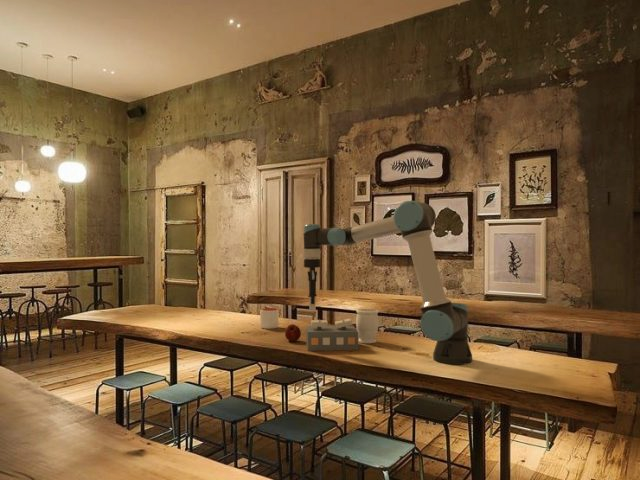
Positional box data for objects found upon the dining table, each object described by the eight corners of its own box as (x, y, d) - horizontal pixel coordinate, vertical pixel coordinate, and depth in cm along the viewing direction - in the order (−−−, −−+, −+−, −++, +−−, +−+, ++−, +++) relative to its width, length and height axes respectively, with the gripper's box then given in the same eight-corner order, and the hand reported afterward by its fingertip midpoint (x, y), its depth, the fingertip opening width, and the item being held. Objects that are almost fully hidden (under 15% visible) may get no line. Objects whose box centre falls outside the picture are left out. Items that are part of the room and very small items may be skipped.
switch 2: (352, 324, 211) (351, 319, 211) (337, 328, 210) (336, 322, 210) (350, 322, 216) (349, 317, 216) (335, 326, 215) (334, 320, 215)
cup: (282, 327, 261) (282, 309, 261) (270, 330, 252) (270, 311, 252) (267, 325, 266) (268, 307, 266) (256, 328, 257) (256, 309, 257)
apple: (282, 342, 222) (282, 325, 222) (289, 339, 229) (289, 322, 229) (296, 343, 219) (296, 326, 219) (303, 340, 226) (303, 323, 226)
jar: (382, 341, 223) (383, 310, 223) (369, 345, 216) (369, 312, 216) (365, 338, 230) (365, 307, 230) (351, 341, 223) (351, 310, 223)
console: (358, 350, 206) (358, 329, 206) (307, 350, 204) (307, 329, 204) (353, 343, 220) (353, 323, 220) (306, 343, 219) (306, 323, 219)
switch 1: (327, 326, 210) (327, 321, 210) (311, 326, 209) (311, 321, 209) (326, 324, 215) (326, 319, 215) (311, 324, 214) (311, 319, 214)
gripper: (321, 258, 206) (322, 313, 205) (319, 258, 219) (319, 309, 218) (304, 259, 205) (304, 313, 205) (303, 258, 218) (303, 309, 218)
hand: (312, 311), depth 212 cm, fingers closed
